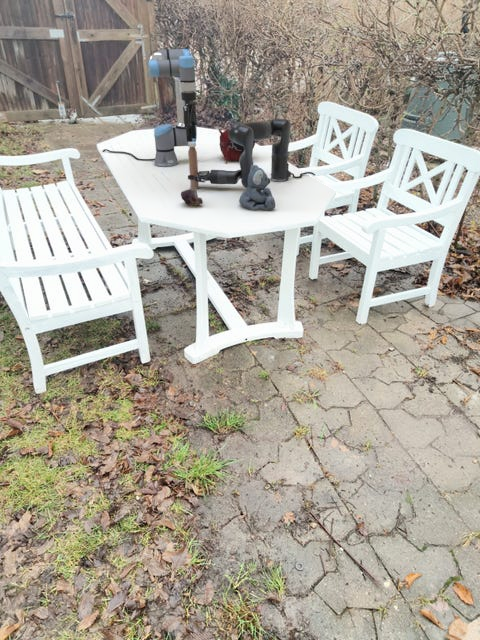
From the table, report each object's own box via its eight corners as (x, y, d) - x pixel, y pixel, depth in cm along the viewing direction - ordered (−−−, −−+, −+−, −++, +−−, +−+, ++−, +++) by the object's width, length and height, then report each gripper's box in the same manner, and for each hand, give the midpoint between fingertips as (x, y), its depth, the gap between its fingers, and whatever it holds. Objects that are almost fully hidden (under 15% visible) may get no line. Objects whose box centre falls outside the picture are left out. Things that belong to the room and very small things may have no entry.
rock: (196, 202, 238) (178, 205, 233) (194, 185, 234) (176, 188, 230) (205, 205, 228) (187, 208, 224) (203, 188, 224) (185, 191, 220)
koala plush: (276, 211, 223) (277, 171, 212) (240, 212, 222) (240, 172, 211) (271, 199, 237) (272, 161, 226) (237, 200, 236) (237, 162, 225)
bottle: (190, 189, 252) (187, 144, 238) (191, 186, 256) (188, 142, 242) (198, 189, 252) (195, 144, 238) (199, 186, 256) (196, 142, 242)
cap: (187, 147, 239) (187, 143, 238) (188, 145, 242) (188, 141, 241) (195, 147, 239) (195, 143, 238) (196, 145, 242) (196, 141, 241)
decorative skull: (216, 132, 306) (216, 129, 283) (250, 124, 306) (252, 120, 282) (223, 164, 313) (223, 164, 290) (256, 156, 312) (259, 156, 289)
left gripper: (187, 88, 234) (190, 135, 247) (174, 94, 219) (179, 143, 231) (201, 89, 233) (203, 136, 246) (189, 94, 217) (192, 144, 230)
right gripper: (221, 166, 252) (191, 165, 254) (216, 174, 240) (185, 172, 242) (221, 179, 256) (192, 178, 258) (216, 187, 244) (186, 186, 246)
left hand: (191, 139), depth 239 cm, fingers open, 6 cm apart
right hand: (189, 175), depth 250 cm, fingers closed on bottle, 4 cm apart
